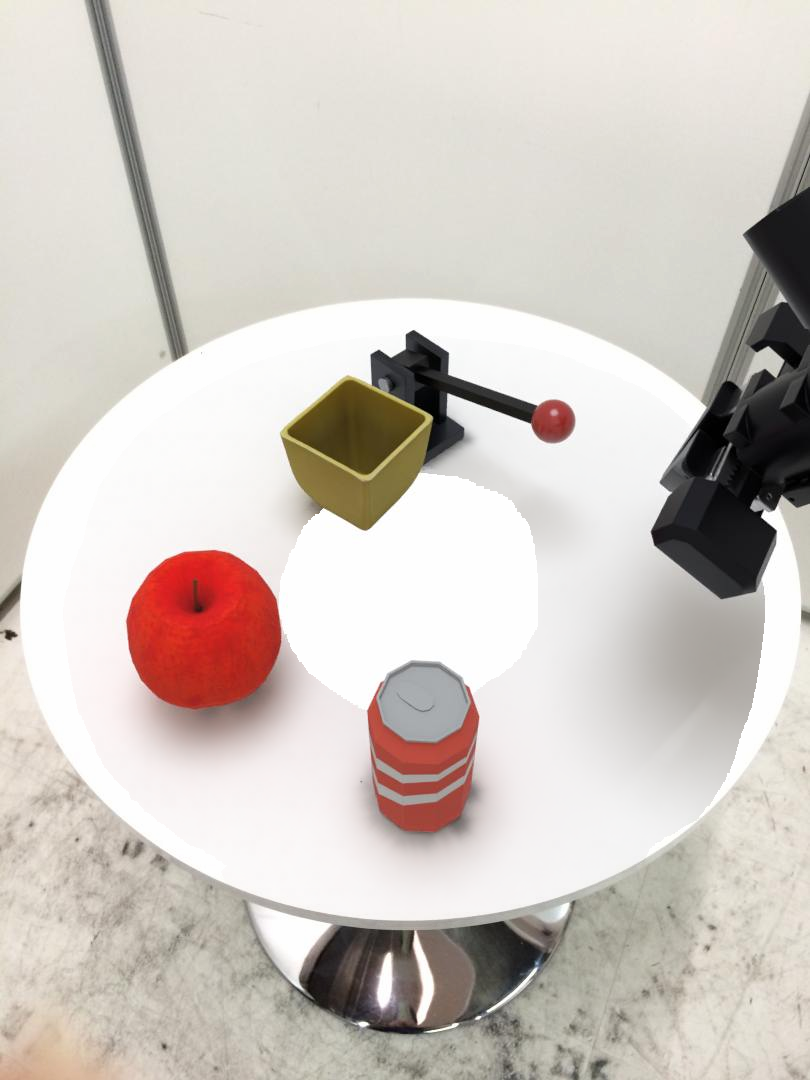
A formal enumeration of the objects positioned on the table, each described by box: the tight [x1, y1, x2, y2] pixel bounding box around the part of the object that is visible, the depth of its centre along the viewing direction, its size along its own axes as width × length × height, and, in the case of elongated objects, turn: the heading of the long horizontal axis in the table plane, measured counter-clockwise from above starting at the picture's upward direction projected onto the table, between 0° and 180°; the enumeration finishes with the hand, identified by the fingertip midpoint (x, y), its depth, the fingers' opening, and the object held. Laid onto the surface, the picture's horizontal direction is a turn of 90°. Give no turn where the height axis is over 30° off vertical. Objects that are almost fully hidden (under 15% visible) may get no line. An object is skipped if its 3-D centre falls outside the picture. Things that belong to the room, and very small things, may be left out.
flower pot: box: [279, 374, 433, 532], centre depth 70 cm, size 9×9×9 cm
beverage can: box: [366, 659, 480, 833], centre depth 53 cm, size 6×6×12 cm
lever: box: [390, 348, 577, 444], centre depth 69 cm, size 19×3×3 cm, turn 43°
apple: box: [125, 549, 282, 711], centre depth 58 cm, size 10×10×12 cm
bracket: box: [369, 329, 465, 465], centre depth 76 cm, size 8×6×9 cm
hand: (666, 483), depth 58 cm, fingers closed
